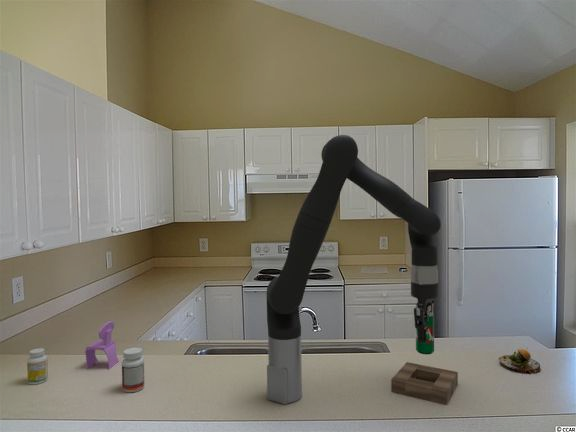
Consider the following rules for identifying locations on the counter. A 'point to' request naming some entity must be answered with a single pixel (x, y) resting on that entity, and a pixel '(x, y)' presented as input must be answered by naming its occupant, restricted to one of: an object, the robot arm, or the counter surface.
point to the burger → (520, 362)
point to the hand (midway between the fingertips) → (424, 338)
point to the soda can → (429, 344)
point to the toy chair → (103, 347)
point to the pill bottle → (132, 370)
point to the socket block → (425, 382)
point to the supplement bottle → (37, 367)
